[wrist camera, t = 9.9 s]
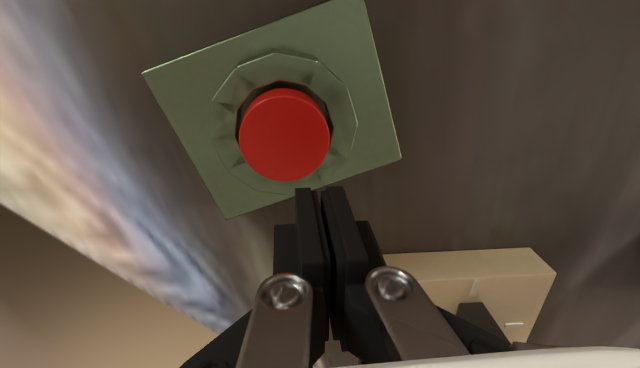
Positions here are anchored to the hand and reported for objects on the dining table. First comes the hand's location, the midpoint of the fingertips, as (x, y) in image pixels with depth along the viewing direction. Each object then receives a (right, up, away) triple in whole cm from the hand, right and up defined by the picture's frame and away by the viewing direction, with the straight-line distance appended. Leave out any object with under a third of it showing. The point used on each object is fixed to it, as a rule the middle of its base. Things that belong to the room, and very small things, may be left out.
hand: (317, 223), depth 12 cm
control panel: (+11, -8, +16) cm, 21 cm away
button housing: (-2, +6, +8) cm, 10 cm away
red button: (-2, +4, +4) cm, 6 cm away
